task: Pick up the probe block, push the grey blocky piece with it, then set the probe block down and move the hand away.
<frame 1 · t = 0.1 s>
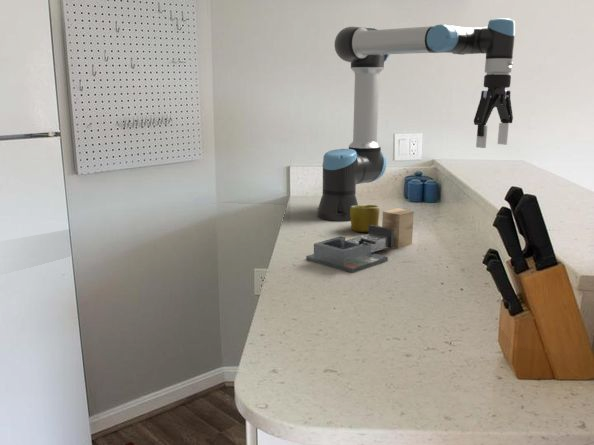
hand: (491, 146, 180), 28 cm above the worktop, fingers open, 13 cm apart
mug: (364, 229, 193), on the worktop
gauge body: (348, 259, 159), on the worktop
grey blocky piece: (372, 240, 164), point 4 cm above the worktop, slide at 0.0 cm
probe block: (396, 244, 175), on the worktop
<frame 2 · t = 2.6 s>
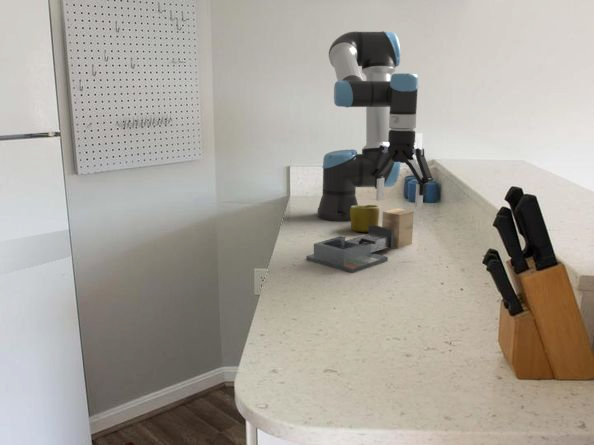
hand: (398, 203, 172), 12 cm above the worktop, fingers open, 13 cm apart
nothing on the worktop moved.
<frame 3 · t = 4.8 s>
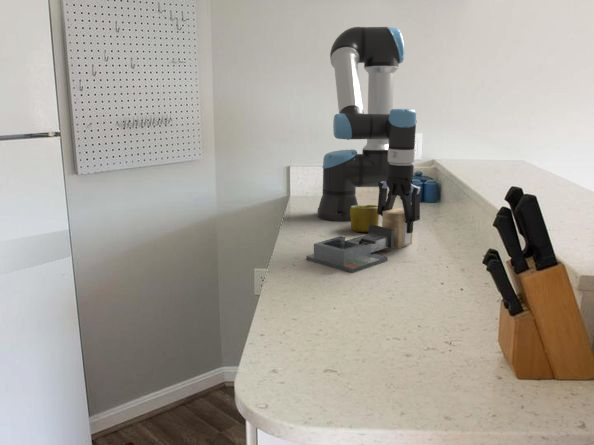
hand: (396, 241, 175), 1 cm above the worktop, fingers closed on probe block, 6 cm apart
probe block: (396, 244, 175), on the worktop, touching gripper
everything else where it was.
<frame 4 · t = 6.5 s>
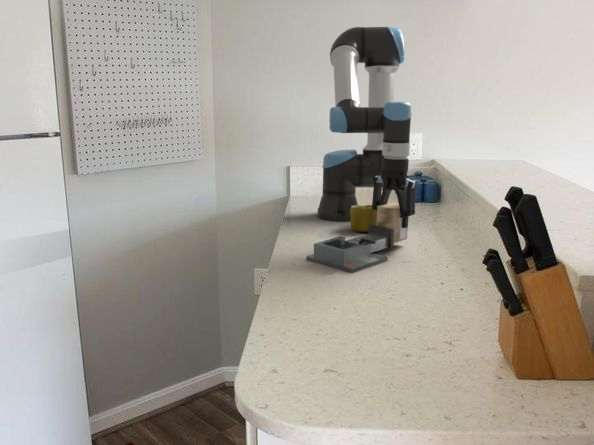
hand: (391, 236, 172), 3 cm above the worktop, fingers closed on probe block, 6 cm apart
probe block: (391, 239, 173), point 2 cm above the worktop, touching gripper
everything else where it was.
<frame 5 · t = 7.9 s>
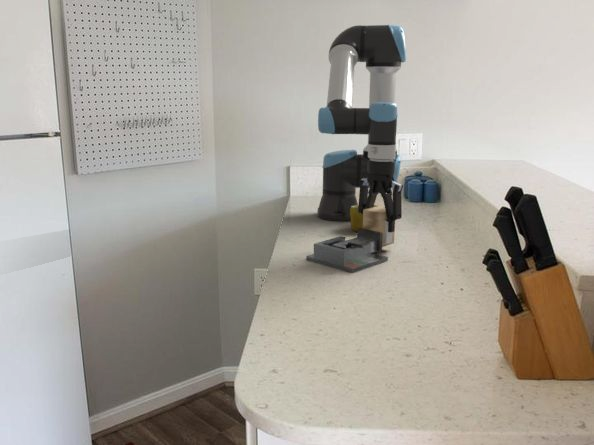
hand: (378, 240, 168), 3 cm above the worktop, fingers closed on probe block, 6 cm apart
grey blocky piece: (359, 244, 160), point 4 cm above the worktop, slide at 5.4 cm, touching probe block
probe block: (378, 243, 168), point 2 cm above the worktop, touching gripper, grey blocky piece
everything else where it was.
when the fingers open (2 cm above the worktop, at t = 9.9 s): probe block stays where it is, on the worktop.
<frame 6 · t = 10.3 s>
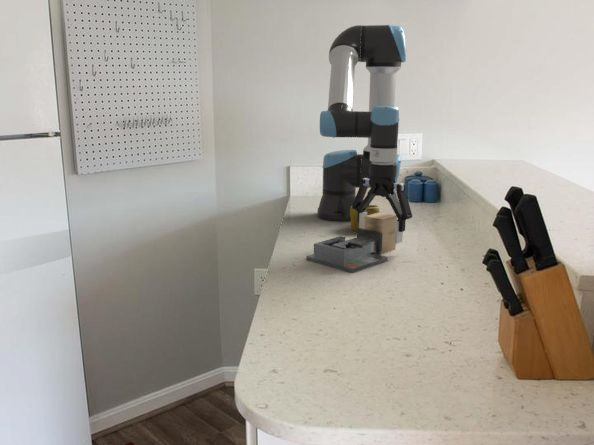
hand: (380, 238, 168), 3 cm above the worktop, fingers open, 12 cm apart
grey blocky piece: (359, 244, 160), point 4 cm above the worktop, slide at 5.4 cm
probe block: (379, 249, 169), on the worktop
everything else where it was.
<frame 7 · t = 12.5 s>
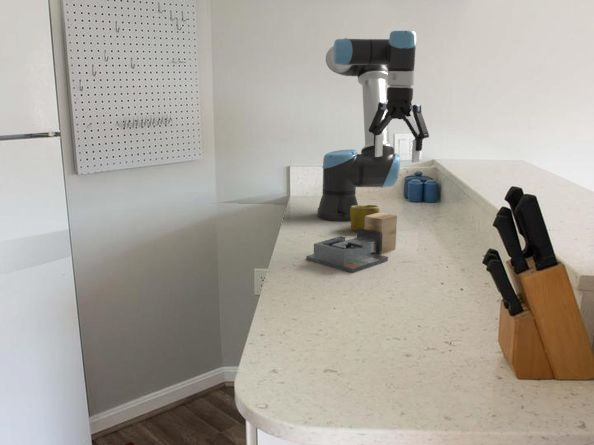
hand: (396, 159, 177), 24 cm above the worktop, fingers open, 13 cm apart
nothing on the worktop moved.
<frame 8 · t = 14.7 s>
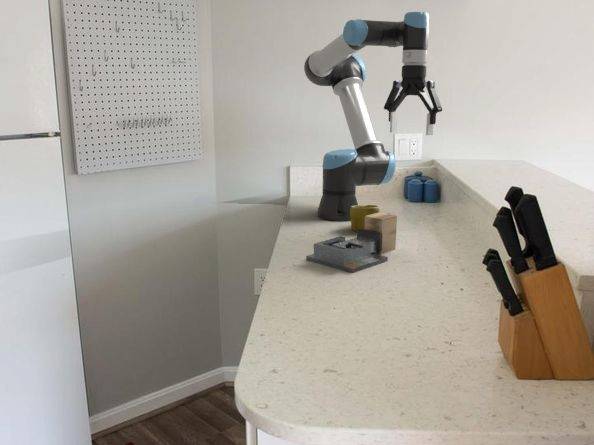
hand: (410, 133, 188), 31 cm above the worktop, fingers open, 13 cm apart
nothing on the worktop moved.
at the end: grey blocky piece slide at 5.4 cm; probe block tilted 0°; the gripper is holding nothing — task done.
